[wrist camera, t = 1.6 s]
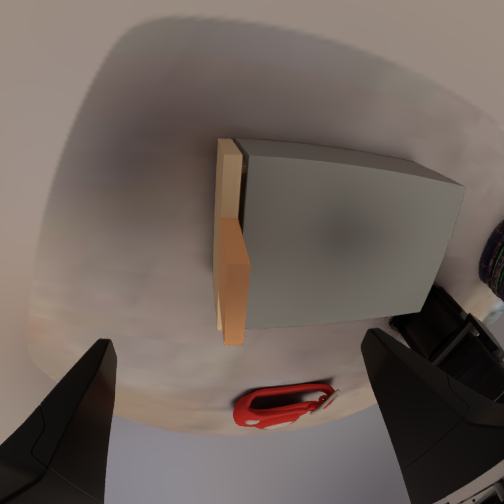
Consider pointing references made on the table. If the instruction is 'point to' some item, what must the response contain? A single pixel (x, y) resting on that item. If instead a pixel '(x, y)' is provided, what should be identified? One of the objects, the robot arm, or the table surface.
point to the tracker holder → (284, 413)
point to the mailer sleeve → (340, 233)
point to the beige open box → (230, 244)
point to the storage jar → (494, 262)
